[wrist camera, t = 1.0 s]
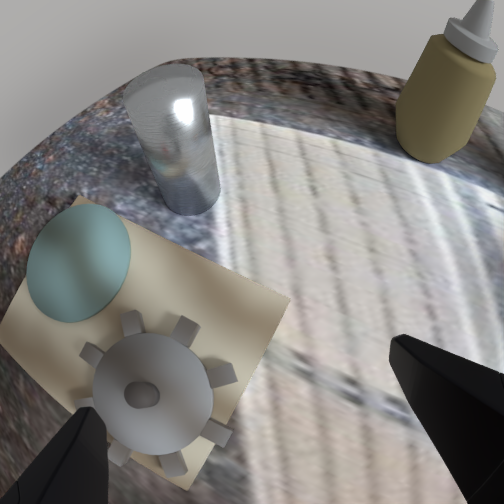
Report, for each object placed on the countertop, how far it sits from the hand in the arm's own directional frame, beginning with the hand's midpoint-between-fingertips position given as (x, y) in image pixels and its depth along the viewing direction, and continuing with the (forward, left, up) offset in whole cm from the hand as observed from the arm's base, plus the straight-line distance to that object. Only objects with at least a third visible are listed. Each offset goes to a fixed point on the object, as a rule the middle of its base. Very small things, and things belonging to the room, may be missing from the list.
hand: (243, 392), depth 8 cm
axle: (+11, +11, -13) cm, 21 cm away
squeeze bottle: (+27, -6, -13) cm, 31 cm away
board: (-1, +10, -13) cm, 16 cm away
